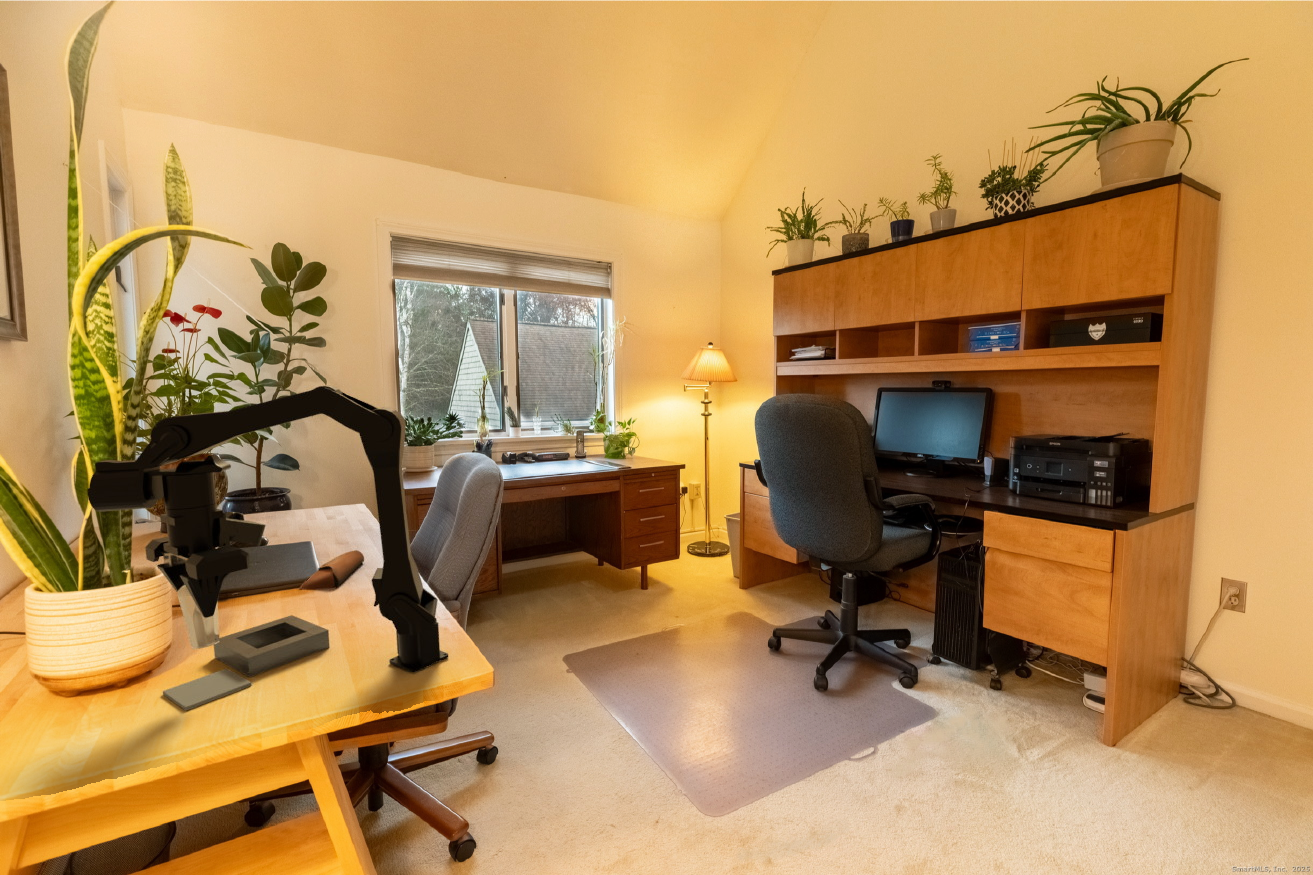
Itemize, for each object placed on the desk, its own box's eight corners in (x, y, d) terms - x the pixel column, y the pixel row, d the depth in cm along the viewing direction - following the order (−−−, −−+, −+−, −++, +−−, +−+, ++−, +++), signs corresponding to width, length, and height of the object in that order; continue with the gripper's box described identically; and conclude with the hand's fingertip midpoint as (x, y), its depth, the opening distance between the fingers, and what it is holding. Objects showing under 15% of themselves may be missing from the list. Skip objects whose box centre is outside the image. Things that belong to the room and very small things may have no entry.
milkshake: (209, 651, 84) (199, 579, 83) (177, 651, 85) (166, 581, 84) (237, 637, 88) (227, 570, 88) (206, 638, 89) (196, 571, 89)
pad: (251, 685, 89) (251, 682, 89) (185, 710, 82) (185, 707, 82) (227, 671, 93) (226, 668, 93) (163, 694, 87) (162, 690, 87)
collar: (329, 647, 101) (328, 629, 101) (249, 677, 91) (247, 658, 91) (293, 631, 108) (291, 615, 108) (214, 657, 98) (213, 639, 98)
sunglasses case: (327, 564, 147) (340, 540, 147) (354, 577, 148) (368, 553, 148) (296, 590, 129) (312, 562, 129) (328, 604, 130) (344, 577, 130)
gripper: (285, 501, 87) (294, 607, 88) (227, 489, 97) (236, 585, 99) (192, 517, 77) (204, 635, 79) (139, 502, 88) (150, 607, 89)
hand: (201, 613), depth 87 cm, fingers closed on milkshake, 4 cm apart
